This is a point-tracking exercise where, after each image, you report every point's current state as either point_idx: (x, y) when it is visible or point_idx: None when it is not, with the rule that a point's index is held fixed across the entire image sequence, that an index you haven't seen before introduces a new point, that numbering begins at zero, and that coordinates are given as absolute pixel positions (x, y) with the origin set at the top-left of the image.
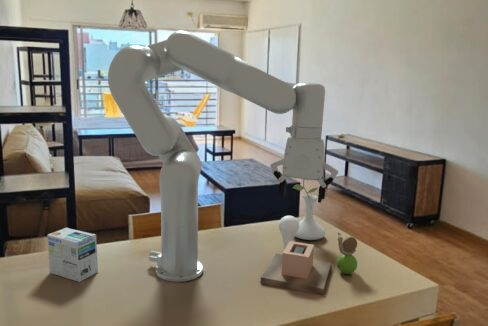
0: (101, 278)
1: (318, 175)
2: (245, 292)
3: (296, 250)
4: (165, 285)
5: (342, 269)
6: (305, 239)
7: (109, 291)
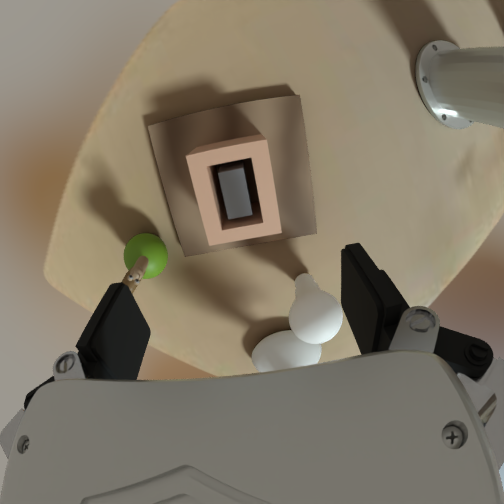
0: (501, 39)
1: (32, 409)
2: (305, 43)
3: (241, 189)
4: (437, 29)
5: (148, 233)
6: (281, 331)
7: (474, 5)
